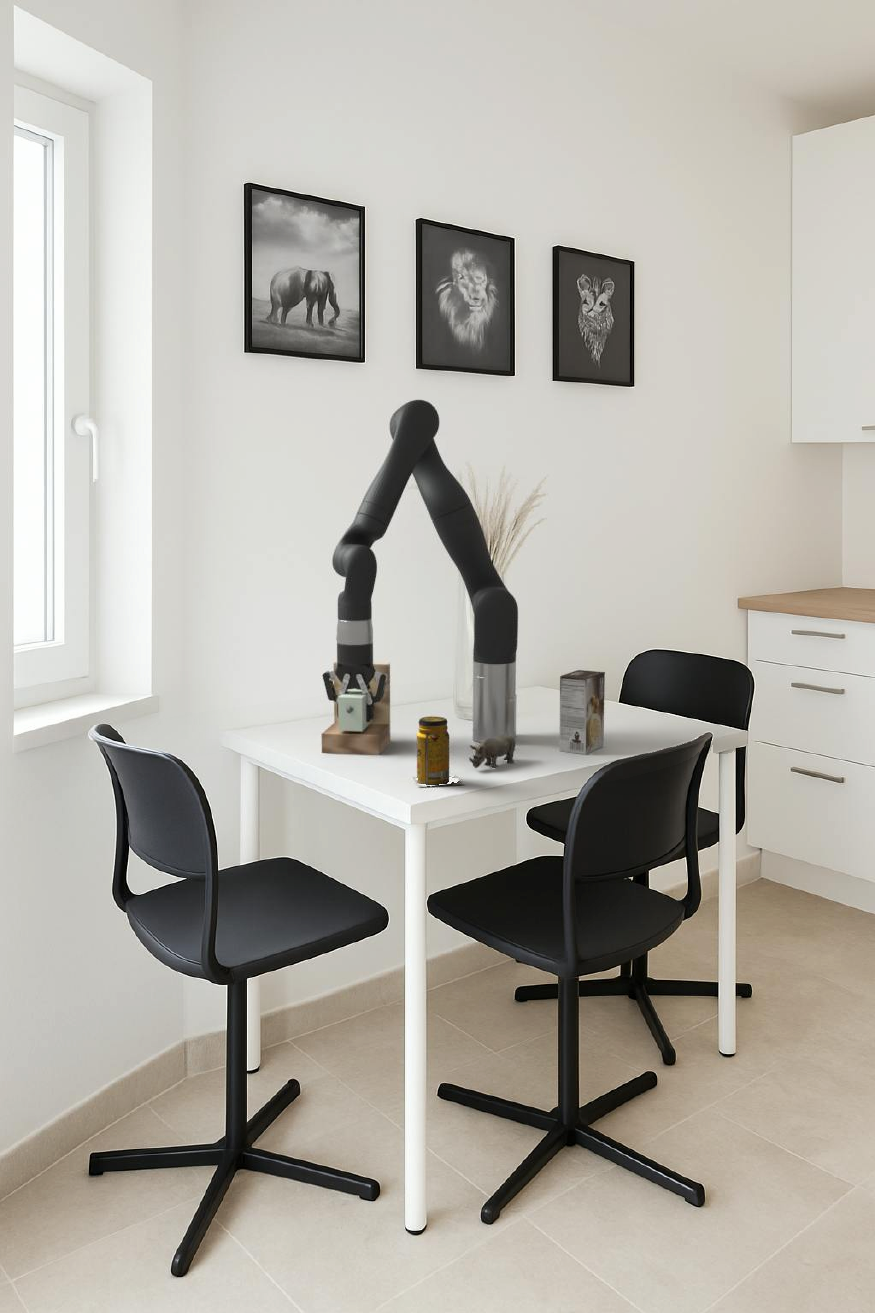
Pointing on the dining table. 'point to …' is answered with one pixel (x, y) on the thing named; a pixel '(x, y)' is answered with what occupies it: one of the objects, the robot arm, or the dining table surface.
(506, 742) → the rhino figurine
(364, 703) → the mint green tall box
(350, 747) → the ledge
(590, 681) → the coffee box
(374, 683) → the wall board
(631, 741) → the dining table surface
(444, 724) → the condiment
